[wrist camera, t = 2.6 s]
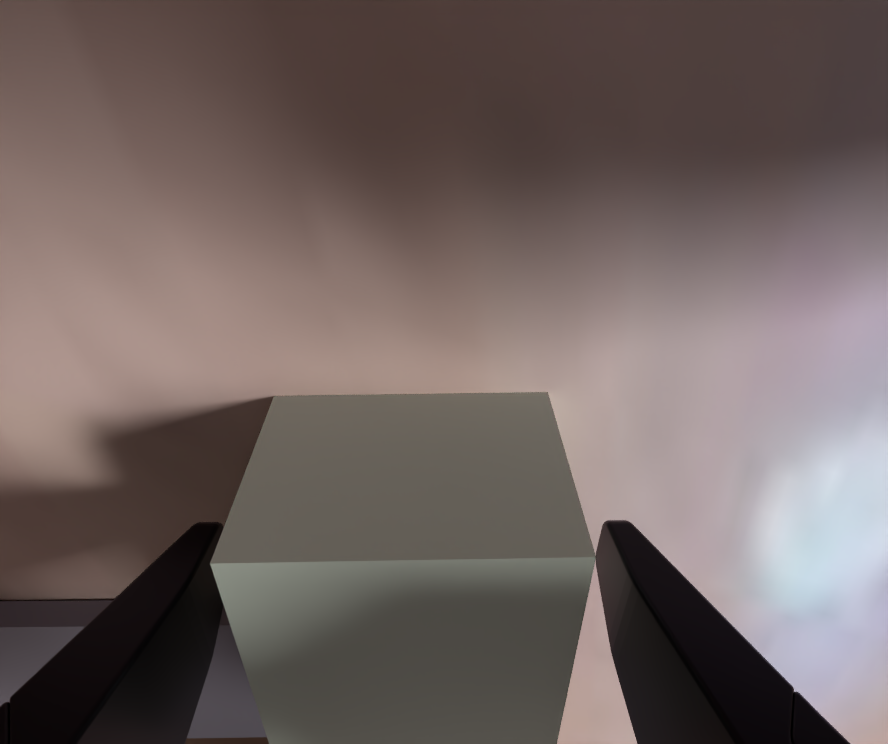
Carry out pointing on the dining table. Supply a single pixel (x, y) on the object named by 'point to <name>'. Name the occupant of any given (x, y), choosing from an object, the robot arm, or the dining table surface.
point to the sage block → (407, 569)
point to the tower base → (228, 740)
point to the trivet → (57, 622)
